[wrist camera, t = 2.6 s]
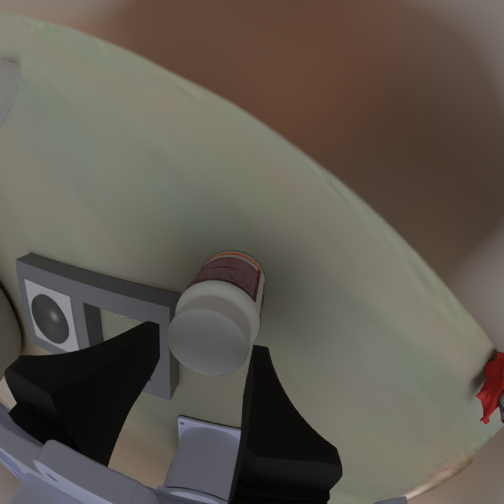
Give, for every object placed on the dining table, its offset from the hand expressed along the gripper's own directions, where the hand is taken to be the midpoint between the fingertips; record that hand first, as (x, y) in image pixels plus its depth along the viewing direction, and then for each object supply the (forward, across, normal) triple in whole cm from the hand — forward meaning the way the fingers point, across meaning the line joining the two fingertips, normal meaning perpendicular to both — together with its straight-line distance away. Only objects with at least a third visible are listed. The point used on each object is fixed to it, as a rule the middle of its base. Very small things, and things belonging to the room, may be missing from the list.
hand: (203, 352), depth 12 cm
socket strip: (+9, +13, +7) cm, 17 cm away
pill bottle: (+9, 0, 0) cm, 9 cm away
